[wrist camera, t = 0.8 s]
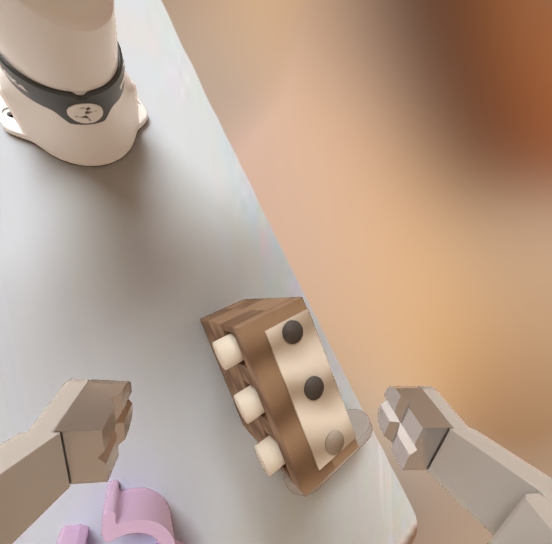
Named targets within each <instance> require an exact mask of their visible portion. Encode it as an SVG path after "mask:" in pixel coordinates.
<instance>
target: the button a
mask: <svg viewBox="0 0 552 544" xmlns="http://www.w3.org/2000/svg"><path fill="white" fill-rule="evenodd" d="M213 348H214V351H215V354H216V356H217V358H218V360H219V362H220V364H221V366H222V367H223V368H224V370H227V369H229V368H231V367H233V366H234V365H236V364H238V363H240V362H242V361H243V360H244V359H243V356H242V353H241V351H240V348H239V346H238V343H237V341H236V338H235V336H234V333H230V334H228V335H226V336H224V337H222V338H220V339H218V340H216V341H214V342H213Z"/></svg>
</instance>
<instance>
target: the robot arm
mask: <svg viewBox="0 0 552 544" xmlns="http://www.w3.org/2000/svg"><path fill="white" fill-rule="evenodd" d="M9 115H13V118H10V117H9ZM147 120H148V114H147V111H146V109H145V107H144V106H143V104H142V102H141V101H140V99H139V98H138V96H137V92H136V86H135V83H134V82H132V81H131V80H130V78H129V76H128V74H127V73H126V71H125V67H124V60H123V57H122V52H121V48H120V46H119V43H118V41H117V32H116V20H115V8H114V0H0V121H1V124H2V126H3V128H4V129H5V130H6V131H7V132H8V133H10V134H12V135H15V136H17V137H20V138H23V139H26V140H29V141H32V142H33V143H35V144H37V145H38V146H40V147H41V148H42V149H44V150H45V151H46V152H48V153H50V154H51V155H53V156H55V157H57V158H59V159H61V160H64V161H67V162H70V163H73V164H78V165H84V166H99V165H105V164H109V163H112V162H114V161H117V160H118V159H120V158H122V157H123V156H124V155H125V154H126V153H127V152H128V151H129V150H130V149H131V147H132V145H133V143H134V141H135V137H136V134H137V131H138V130H139V129H140V128H141V127H142V126H143V125H144V124H145V123H146V121H147ZM130 394H131V382H129V381H113V380H81V379H71V380H69V381H68V382H66V383H65V384H64V385H63V387H62V388H61V389H60V390H59V392H58V393H57V394H56V396H55V397H54V398H53V400H52V401H51V402H50V403H49V405H48V406H47V407H46V409H45V410H44V411H43V412H42V414H41V415H40V416H39V418H38V419H37V420H36V422H35V423H34V424H33V425H32V427H31V428H30V429H29V431H28V432H27V433H19V434H17V435H16V436H14V437H12V438H11V439H9V440H8V441H6V442H4V443H3V444H1V445H0V544H12V543H13V542H14V541H15V540H16V539H17V538H18V537H19V536H20V535H21V534H22V533H23V532H24V531H25V530H26V529H27V528H28V527H29V526H30V525H31V524H33V523H34V522H35V521H36V520H37V519H38V518H39V517H40V516H41V515H42V514H43V513H44V512H45V511H46V510H47V509H48V508H49V507H50V506H51V505H52V504H53V503H54V502H55V501H56V500H57V499H58V498H59V497H60V496H61V495H62V494H63V493H64V492H65V491H66V490H67V489H68V488H69V487H70V484H79V483H94V482H108V480H109V477H110V475H111V472H112V470H113V467H114V465H115V463H116V460H117V458H118V445H119V444H120V443H121V442H122V441H123V440H124V439H125V438H126V435H127V432H128V430H129V426H130V422H131V418H132V402H131V401H130V400H129V399H128V398H129V396H130ZM385 398H386V401H385V402H383V403H382V404H381V405H380V408H379V411H378V422H379V425H380V428H381V430H382V432H383V434H384V436H385V437H387V438H388V439H389V440H390V441H391V442H392V445H391V450H392V452H393V453H394V455H395V457H396V459H397V461H398V463H399V465H400V467H401V468H402V470H428V471H427V472H428V473H429V474H430V475H431V476H432V477H433V478H434V479H436V481H437V482H438V483H440V484H441V485H442V486H443V487H444V488H445V489H446V490H447V491H448V492H449V493H450V494H451V495H452V496H453V497H454V498H455V499H456V500H457V501H458V502H459V503H460V504H461V505H462V506H463V507H464V508H465V509H467V511H468V512H469V513H471V515H472V516H473V517H475V518H476V519H477V520H478V521H479V522H480V523H481V524H482V525H483V526H484V527H485V528H486V529H487V530H488V531H489V532H490V533H491V534H492V535H493V537H492V538H491V540H490V541H489V542H488V543H487V544H552V478H550V477H548V476H547V475H545V474H544V473H542V472H541V471H539V470H538V469H536V468H534V467H533V466H531V465H530V464H528V463H527V462H525V461H523V460H522V459H520V458H519V457H517V456H516V455H514V454H513V453H511V452H509V451H508V450H506V449H505V448H503V447H502V446H500V445H499V444H497V443H495V442H494V441H492V440H491V439H489V438H487V437H486V436H484V435H483V434H481V433H480V432H478V431H477V430H475V429H471V428H468V427H467V425H466V424H465V423H464V422H463V421H462V420H461V418H460V417H459V416H458V415H457V414H456V412H455V411H454V410H453V409H452V408H451V407H450V406H449V404H448V403H447V402H446V401H445V400H444V398H443V397H442V396H441V395H440V394H439V393H438V391H437V390H436V389H434V388H432V387H424V386H421V387H420V386H417V387H415V386H390V387H389V388H387V390H386V392H385Z"/></svg>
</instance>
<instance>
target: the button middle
mask: <svg viewBox="0 0 552 544" xmlns="http://www.w3.org/2000/svg"><path fill="white" fill-rule="evenodd" d="M234 400H235V403H236V405H237V408H238V410H239V412H240V414H241V415H242V417H243V419H244V420H245V422H246V423H247V424H249V423H250V422H252V421H253V420H255V419H256V418H258V417H259V416H261V415H262V414H263V413H265V411H264V409H263V406H262V404H261V401H260V399H259V396H258V394H257V391H256V389H255V388H254V387H252V386H251V385H250V386H248V387H246V388H245V389H243V390H242V391H240V392H238V393H237V394H235V395H234Z"/></svg>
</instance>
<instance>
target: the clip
mask: <svg viewBox="0 0 552 544" xmlns="http://www.w3.org/2000/svg"><path fill="white" fill-rule="evenodd" d="M88 532H89V527H88V526H85V525H81V524H79V525H68V526H65V527H63V528H62V529H61V532H60V535H59V538H58V541H57V544H86V541H87V536H88ZM131 533H145V534H148V535H151V536H153V537H154V538H156V539H157V543H156V544H185V543H183V542H180V541H177V540H175V539H174V532H173V526H172V520H171V513H170V509H169V506H168V504H167V502H166V500H165V499H164V498H163V497H162V496H161V495H160V494H159V493H157V492H156V491H154V490H151V489H148V488H131V489H126V490H123V491H121V490H119V482H118V481H117V480H113V481H111V482H109V484H108V486H107V492H106V498H105V504H104V510H103V516H102V536H103V539H104V541H105V542H111V541H112V540H114V539H116V538H118V537H121V536H123V535H127V534H131Z"/></svg>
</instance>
